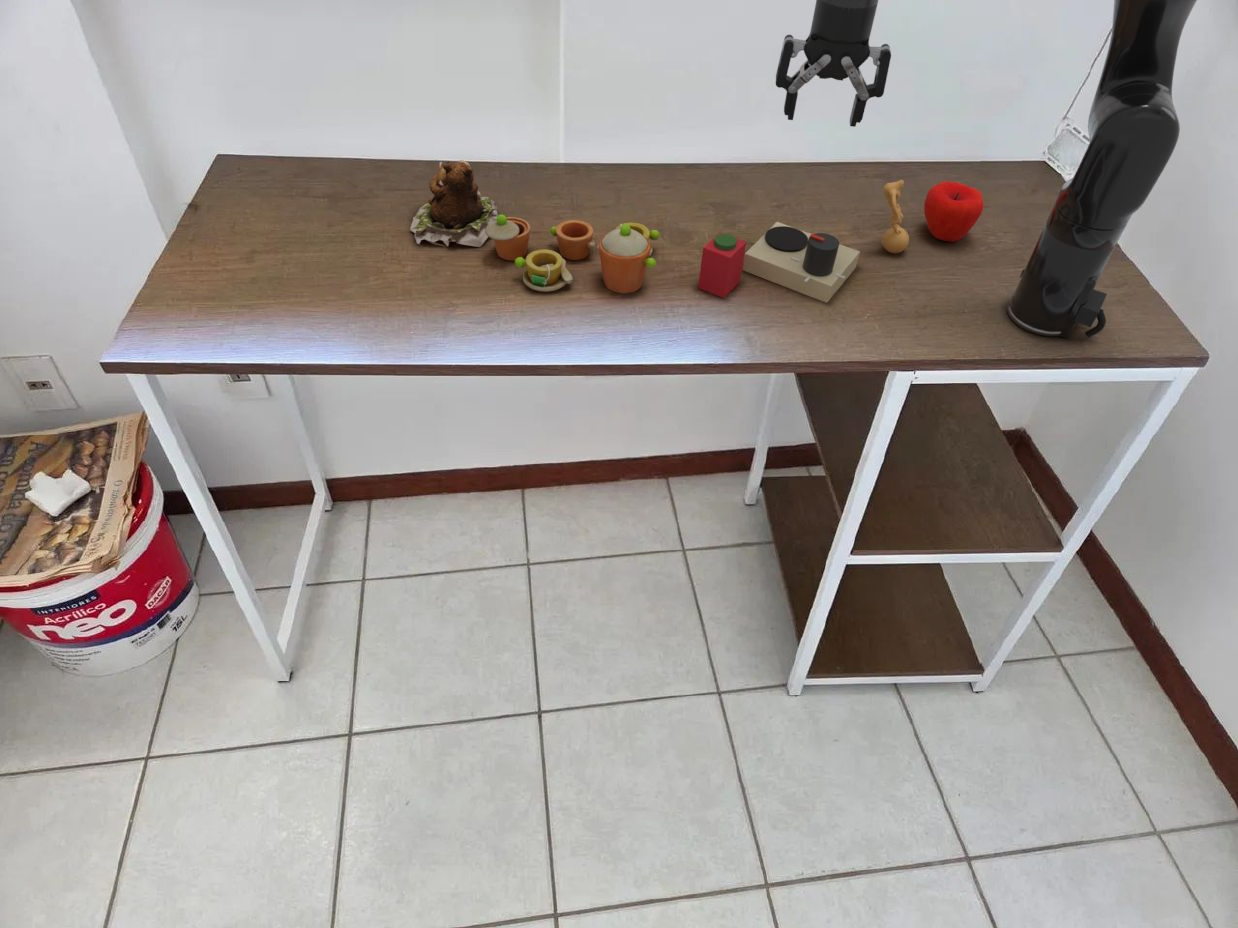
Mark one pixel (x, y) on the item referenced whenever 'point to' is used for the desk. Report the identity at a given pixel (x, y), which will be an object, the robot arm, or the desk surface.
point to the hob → (798, 268)
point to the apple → (952, 210)
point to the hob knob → (820, 254)
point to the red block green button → (721, 264)
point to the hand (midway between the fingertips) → (821, 121)
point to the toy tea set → (576, 252)
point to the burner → (786, 239)
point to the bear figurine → (454, 208)
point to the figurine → (895, 236)
